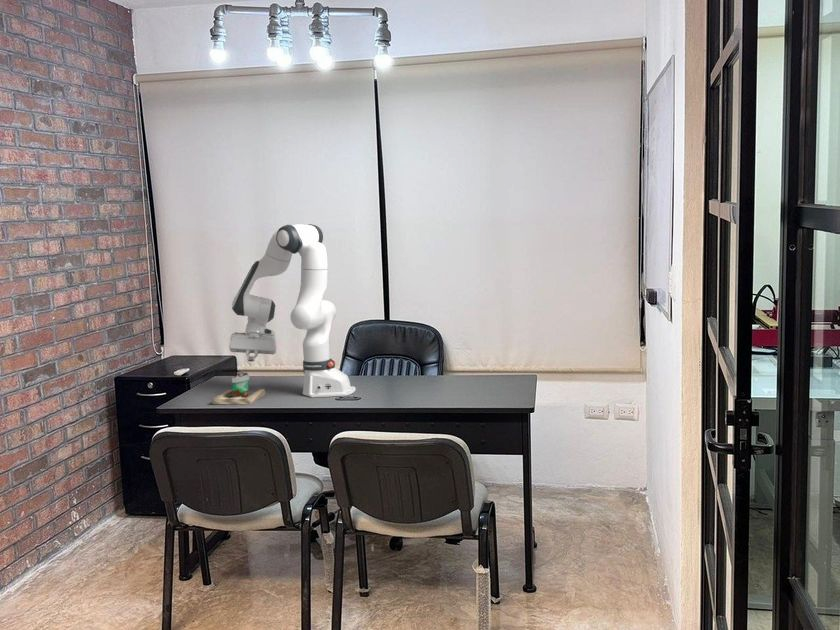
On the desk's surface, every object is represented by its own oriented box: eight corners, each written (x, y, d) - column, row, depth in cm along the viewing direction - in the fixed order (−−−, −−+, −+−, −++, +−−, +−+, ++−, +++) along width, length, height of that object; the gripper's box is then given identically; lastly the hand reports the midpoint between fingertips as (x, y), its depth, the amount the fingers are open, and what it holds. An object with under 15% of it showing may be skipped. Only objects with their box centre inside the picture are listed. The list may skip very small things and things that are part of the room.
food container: (248, 400, 338) (246, 377, 337) (233, 401, 338) (231, 377, 336) (253, 394, 350) (251, 371, 349) (239, 394, 350) (237, 372, 349)
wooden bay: (265, 394, 347) (264, 389, 347) (249, 404, 331) (248, 398, 330) (229, 395, 350) (229, 389, 350) (212, 404, 334) (212, 398, 333)
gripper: (230, 328, 357) (225, 355, 350) (277, 331, 359) (273, 358, 351) (232, 336, 363) (227, 362, 355) (278, 338, 364) (274, 365, 356)
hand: (250, 360), depth 353 cm, fingers closed
